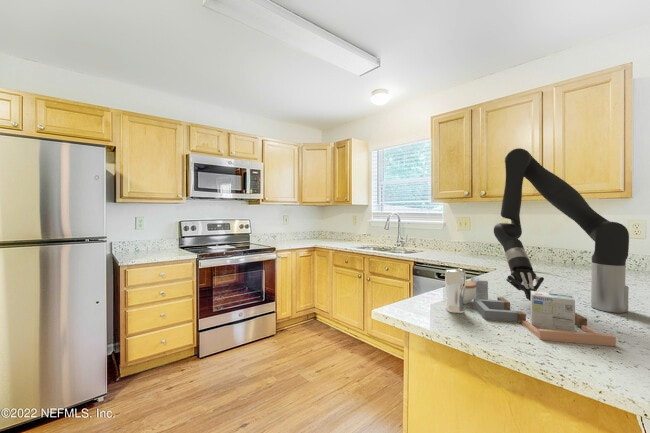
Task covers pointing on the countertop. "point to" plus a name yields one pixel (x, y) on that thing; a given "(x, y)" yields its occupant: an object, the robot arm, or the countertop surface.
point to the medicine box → (480, 288)
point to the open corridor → (522, 316)
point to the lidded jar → (469, 292)
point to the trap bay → (494, 310)
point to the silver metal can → (455, 289)
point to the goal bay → (573, 335)
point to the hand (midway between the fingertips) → (532, 299)
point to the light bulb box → (552, 311)
